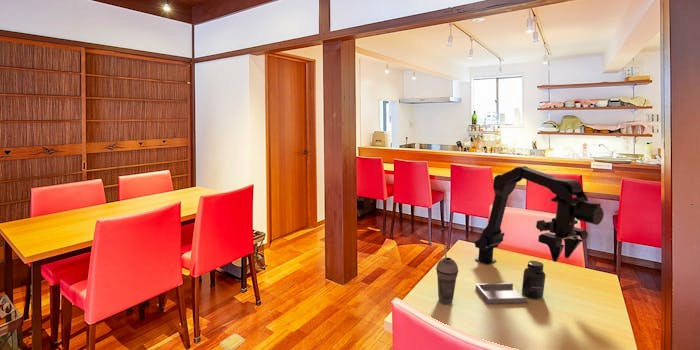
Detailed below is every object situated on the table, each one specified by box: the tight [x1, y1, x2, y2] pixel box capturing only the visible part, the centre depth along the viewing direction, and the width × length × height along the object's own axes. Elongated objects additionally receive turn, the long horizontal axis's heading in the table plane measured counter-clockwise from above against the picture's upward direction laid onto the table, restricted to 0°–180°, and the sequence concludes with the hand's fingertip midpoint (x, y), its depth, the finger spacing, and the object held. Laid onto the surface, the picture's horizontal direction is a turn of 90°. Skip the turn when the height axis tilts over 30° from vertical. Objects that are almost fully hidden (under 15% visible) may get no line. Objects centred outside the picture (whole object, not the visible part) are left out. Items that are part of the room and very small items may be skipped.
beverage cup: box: [435, 244, 459, 306], centre depth 119 cm, size 7×7×20 cm
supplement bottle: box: [521, 260, 547, 300], centre depth 124 cm, size 7×7×12 cm
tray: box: [475, 282, 529, 305], centre depth 124 cm, size 14×10×2 cm
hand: (560, 259), depth 123 cm, fingers open, 6 cm apart
